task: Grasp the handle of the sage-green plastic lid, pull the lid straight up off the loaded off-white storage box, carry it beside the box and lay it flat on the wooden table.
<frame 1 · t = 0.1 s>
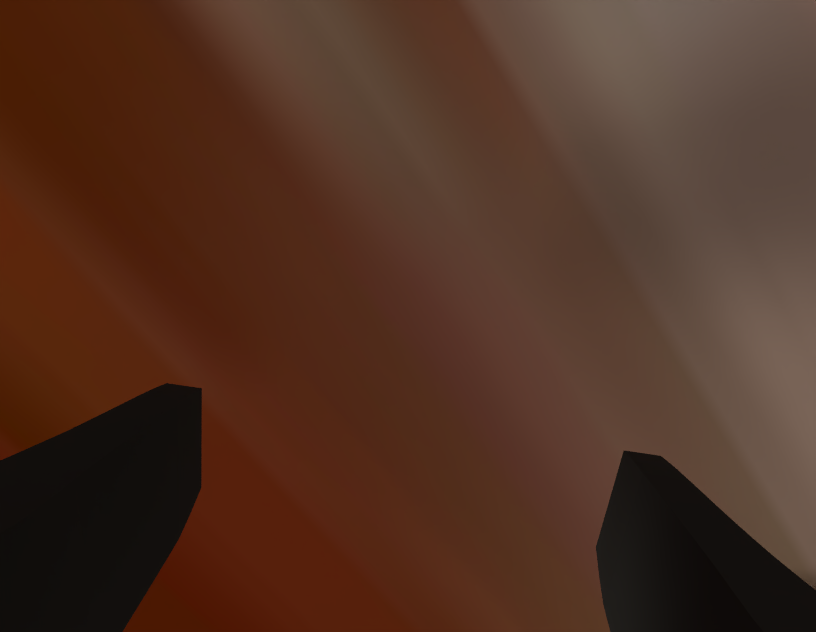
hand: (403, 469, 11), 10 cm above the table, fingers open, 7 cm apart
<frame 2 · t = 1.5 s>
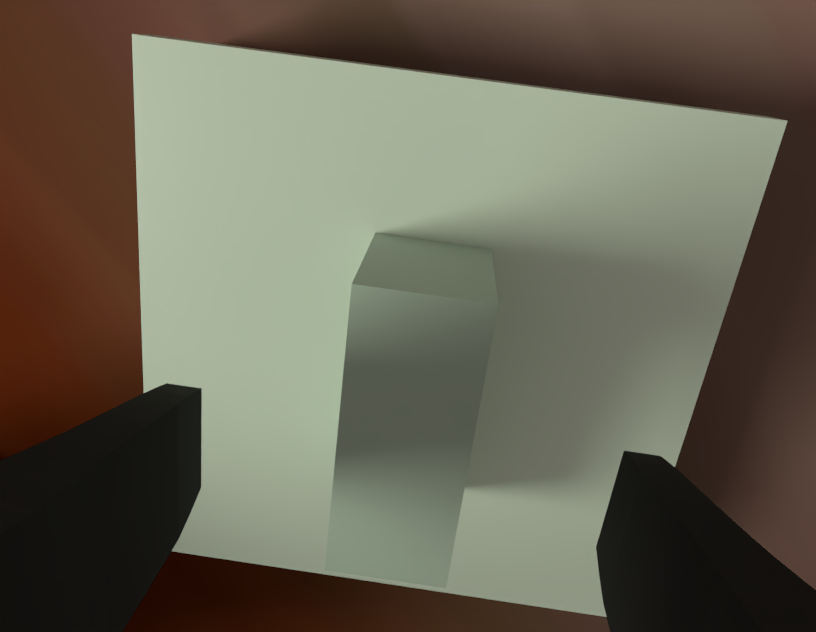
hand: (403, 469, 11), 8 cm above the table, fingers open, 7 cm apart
lid: (417, 354, 16), point 3 cm above the table, touching box
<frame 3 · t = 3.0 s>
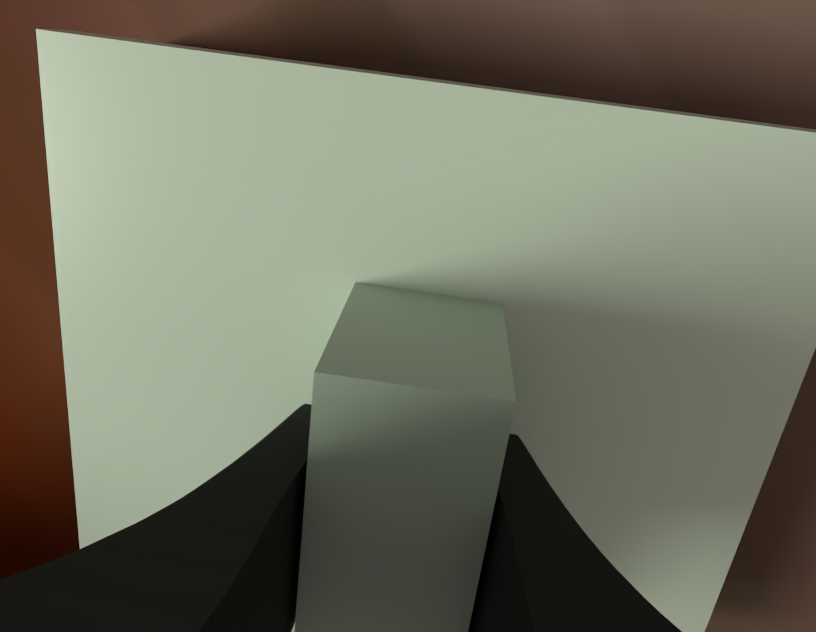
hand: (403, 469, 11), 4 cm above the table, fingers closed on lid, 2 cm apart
lid: (409, 425, 13), point 3 cm above the table, touching box, gripper
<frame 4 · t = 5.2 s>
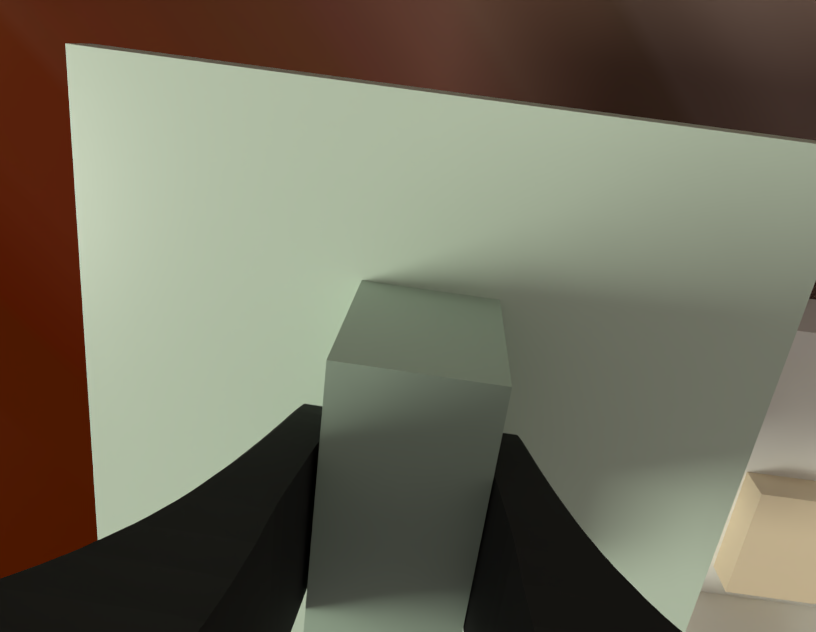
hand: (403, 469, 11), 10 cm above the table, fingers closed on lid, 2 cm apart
lid: (412, 416, 13), point 8 cm above the table, touching gripper
box: (741, 463, 23), on the table
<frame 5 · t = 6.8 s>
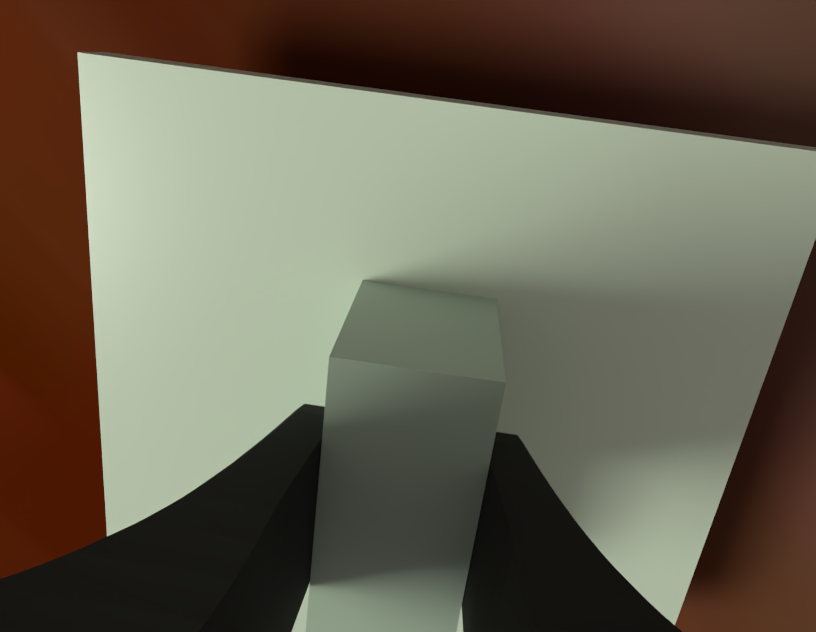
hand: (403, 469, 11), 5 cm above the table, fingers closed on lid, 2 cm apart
lid: (411, 412, 14), point 2 cm above the table, touching gripper
when the fingers open (4 cm above the table, at t = 7.7 s): lid stays where it is, point 1 cm above the table.
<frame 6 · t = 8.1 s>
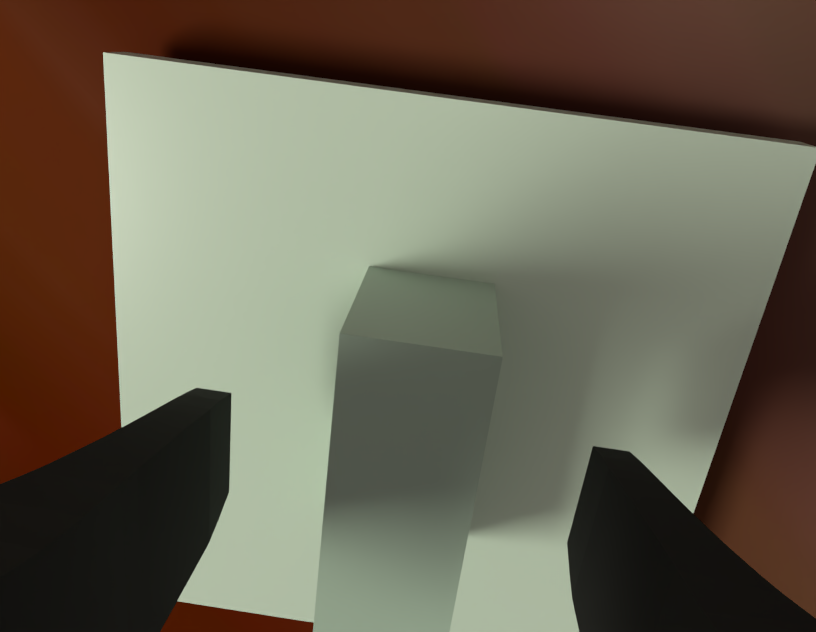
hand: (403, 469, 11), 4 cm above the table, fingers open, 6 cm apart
lid: (415, 392, 15), point 1 cm above the table
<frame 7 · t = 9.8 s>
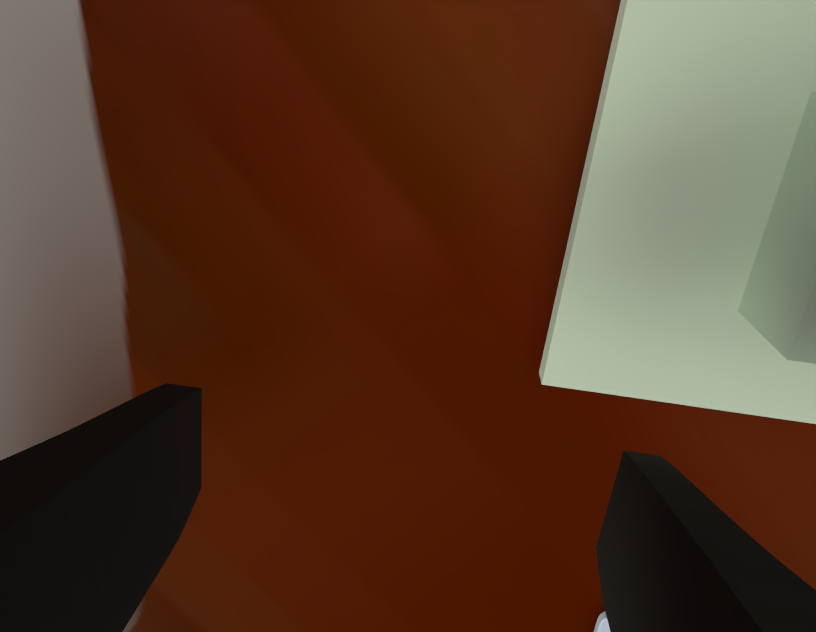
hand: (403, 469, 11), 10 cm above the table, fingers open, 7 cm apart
lid: (802, 208, 19), point 1 cm above the table
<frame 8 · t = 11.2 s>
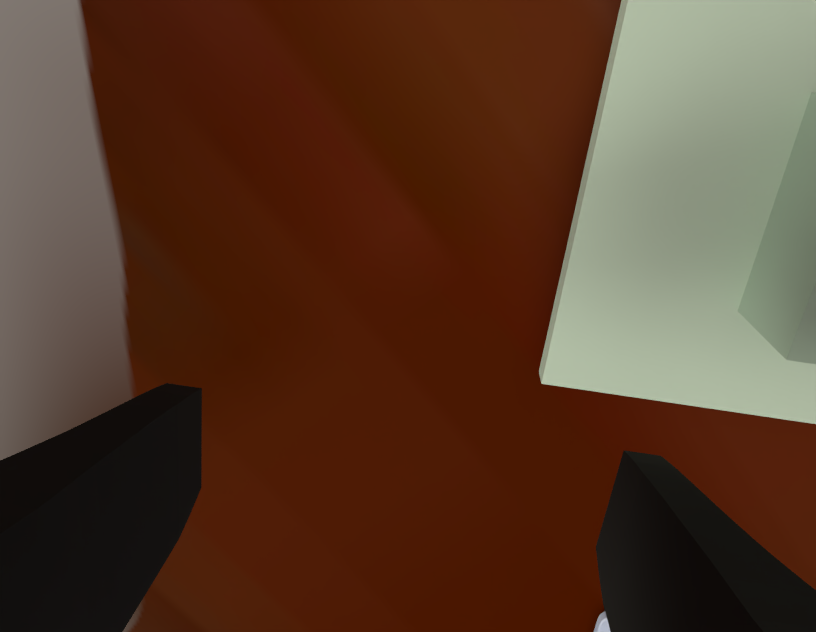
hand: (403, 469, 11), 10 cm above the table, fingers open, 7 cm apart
lid: (803, 208, 19), point 1 cm above the table
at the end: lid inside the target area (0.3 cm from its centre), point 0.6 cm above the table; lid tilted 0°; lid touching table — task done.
